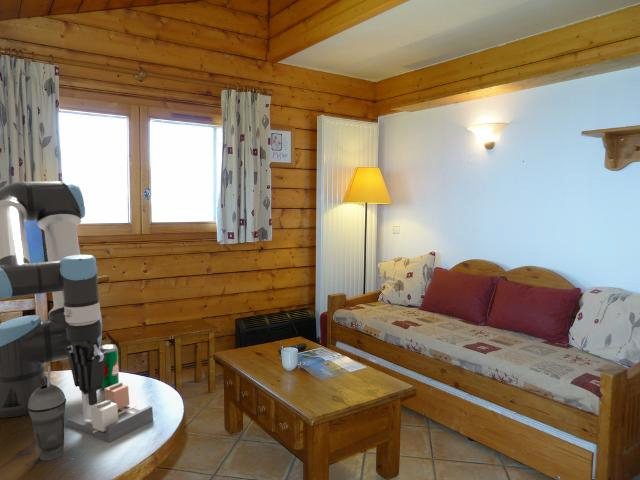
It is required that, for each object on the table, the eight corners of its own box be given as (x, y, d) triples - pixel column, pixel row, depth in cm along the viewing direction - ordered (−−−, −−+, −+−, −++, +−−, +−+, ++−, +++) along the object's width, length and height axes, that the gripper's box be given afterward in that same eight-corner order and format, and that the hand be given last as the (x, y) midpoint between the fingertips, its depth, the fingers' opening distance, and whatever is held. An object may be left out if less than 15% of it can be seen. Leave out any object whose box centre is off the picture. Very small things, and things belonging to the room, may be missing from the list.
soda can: (116, 389, 139) (115, 348, 138) (98, 390, 138) (96, 349, 137) (120, 382, 144) (119, 343, 143) (102, 383, 143) (100, 344, 142)
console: (63, 426, 118) (62, 412, 118) (113, 404, 130) (112, 391, 129) (106, 444, 109) (105, 429, 109) (155, 418, 121) (154, 405, 120)
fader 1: (105, 407, 123) (104, 386, 123) (119, 401, 127) (118, 380, 126) (115, 410, 121) (113, 389, 121) (129, 404, 124) (127, 383, 124)
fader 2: (92, 427, 113) (90, 404, 112) (108, 420, 116) (106, 397, 116) (103, 431, 111) (101, 408, 110) (118, 424, 114) (116, 401, 113)
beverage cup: (45, 446, 109) (37, 360, 107) (77, 445, 109) (69, 359, 107) (24, 464, 102) (15, 372, 100) (58, 464, 102) (50, 372, 99)
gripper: (51, 321, 114) (60, 416, 117) (85, 329, 107) (93, 430, 110) (81, 313, 121) (89, 403, 124) (114, 320, 114) (121, 416, 117)
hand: (90, 416), depth 117 cm, fingers closed
